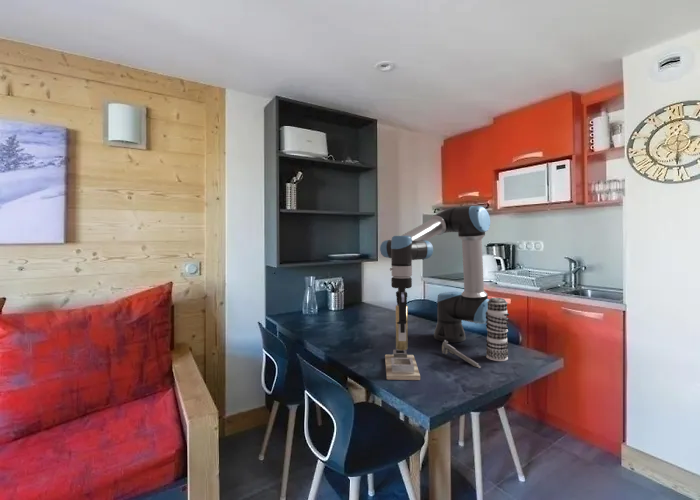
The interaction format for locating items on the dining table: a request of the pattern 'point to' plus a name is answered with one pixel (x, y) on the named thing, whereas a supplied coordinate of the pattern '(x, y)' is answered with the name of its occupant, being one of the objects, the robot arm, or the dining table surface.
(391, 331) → the dining table surface
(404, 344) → the brass cylinder
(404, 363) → the fitting board
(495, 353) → the decorative candle
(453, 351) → the caliper
